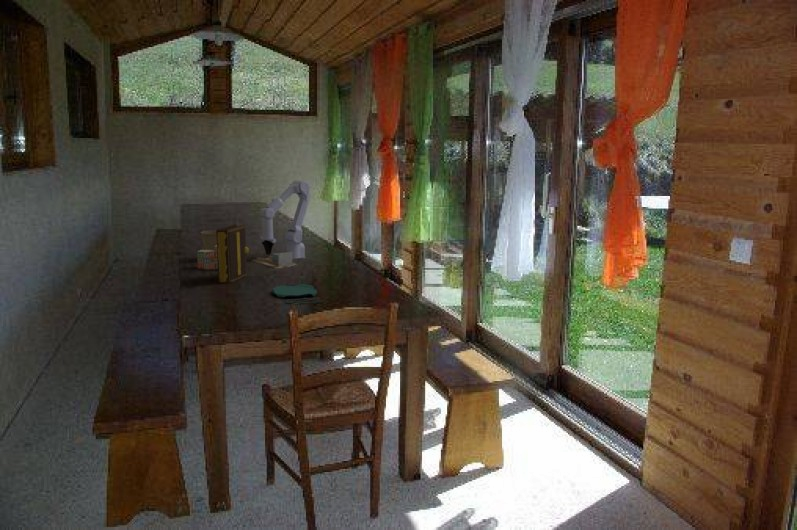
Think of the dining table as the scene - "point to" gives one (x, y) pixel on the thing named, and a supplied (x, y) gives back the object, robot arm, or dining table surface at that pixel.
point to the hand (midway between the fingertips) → (268, 254)
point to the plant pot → (209, 239)
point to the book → (231, 253)
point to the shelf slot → (283, 260)
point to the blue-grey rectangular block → (275, 257)
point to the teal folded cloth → (297, 293)
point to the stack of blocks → (207, 259)
